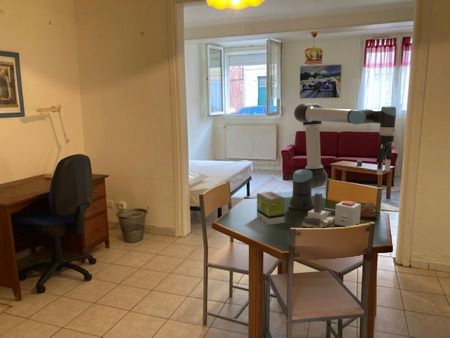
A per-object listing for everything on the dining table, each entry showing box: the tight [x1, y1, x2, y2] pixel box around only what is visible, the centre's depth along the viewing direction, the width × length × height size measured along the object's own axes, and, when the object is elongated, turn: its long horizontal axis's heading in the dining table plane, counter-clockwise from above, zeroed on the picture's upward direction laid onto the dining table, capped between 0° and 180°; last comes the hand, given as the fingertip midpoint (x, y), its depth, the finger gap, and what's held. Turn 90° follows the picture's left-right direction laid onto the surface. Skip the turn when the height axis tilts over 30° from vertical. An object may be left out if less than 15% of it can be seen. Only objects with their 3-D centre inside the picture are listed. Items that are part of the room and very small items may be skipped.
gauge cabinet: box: [334, 200, 361, 227], centre depth 212 cm, size 10×11×11 cm
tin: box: [354, 201, 378, 218], centre depth 226 cm, size 15×3×8 cm, turn 68°
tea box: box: [256, 191, 286, 226], centre depth 218 cm, size 15×10×15 cm, turn 23°
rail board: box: [302, 207, 336, 229], centre depth 215 cm, size 24×10×5 cm, turn 140°
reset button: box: [341, 200, 356, 206], centre depth 211 cm, size 5×5×3 cm
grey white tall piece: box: [307, 192, 327, 222], centre depth 210 cm, size 7×8×15 cm
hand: (383, 172), depth 217 cm, fingers open, 13 cm apart
